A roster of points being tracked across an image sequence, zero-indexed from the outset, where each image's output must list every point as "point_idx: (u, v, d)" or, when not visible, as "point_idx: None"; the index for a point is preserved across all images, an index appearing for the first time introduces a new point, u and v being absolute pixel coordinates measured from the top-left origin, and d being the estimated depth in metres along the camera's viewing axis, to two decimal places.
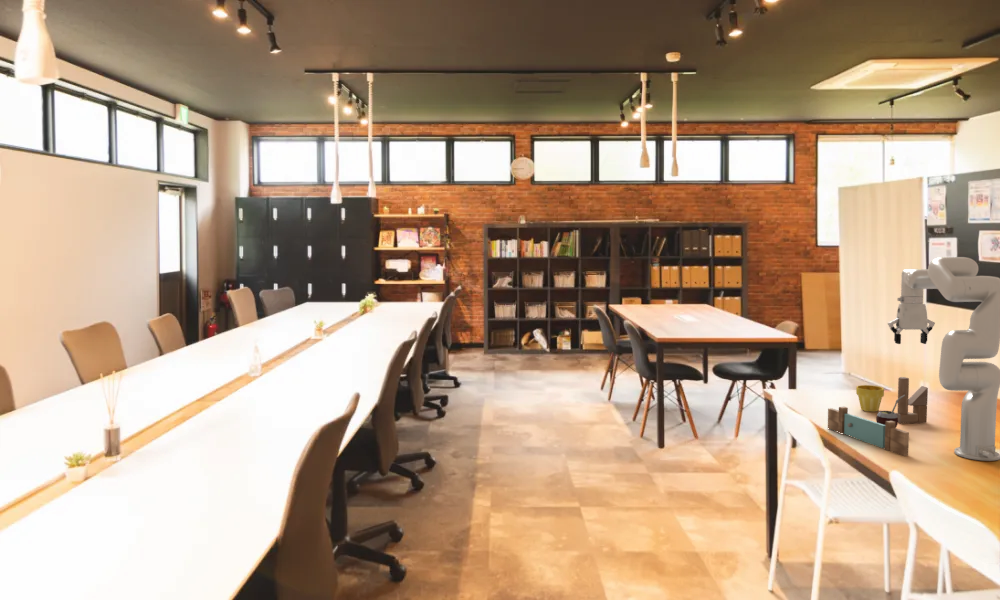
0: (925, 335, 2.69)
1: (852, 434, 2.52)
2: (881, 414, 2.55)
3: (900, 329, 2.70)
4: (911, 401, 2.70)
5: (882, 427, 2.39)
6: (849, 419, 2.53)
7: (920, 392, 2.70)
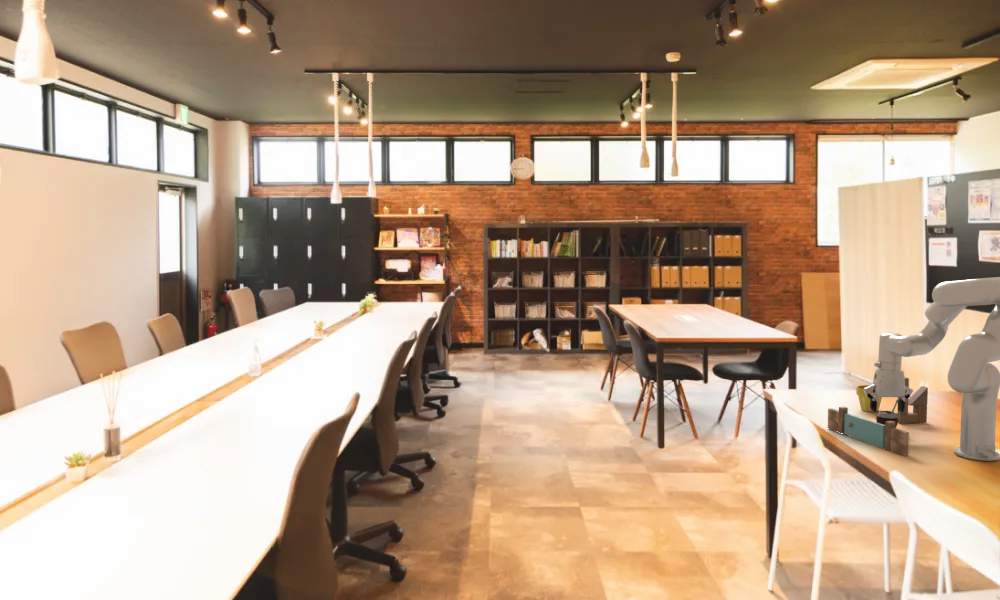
0: (902, 403, 2.55)
1: (852, 434, 2.52)
2: (881, 414, 2.55)
3: (876, 396, 2.55)
4: (911, 401, 2.70)
5: (882, 427, 2.39)
6: (849, 419, 2.53)
7: (920, 392, 2.70)
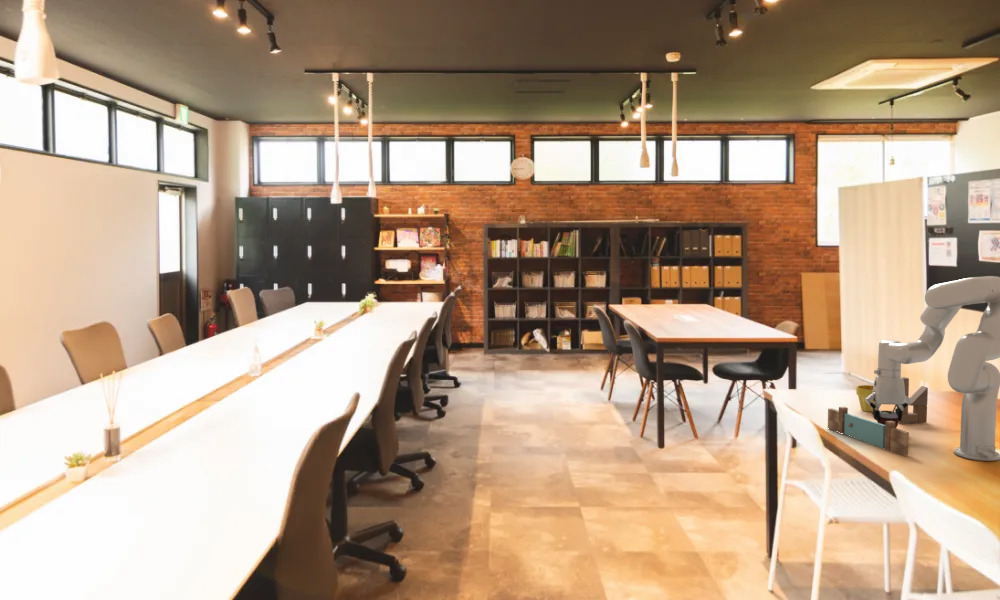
0: (899, 412, 2.55)
1: (852, 434, 2.52)
2: (881, 414, 2.56)
3: (878, 405, 2.55)
4: (911, 401, 2.70)
5: (882, 427, 2.39)
6: (849, 419, 2.53)
7: (920, 392, 2.70)
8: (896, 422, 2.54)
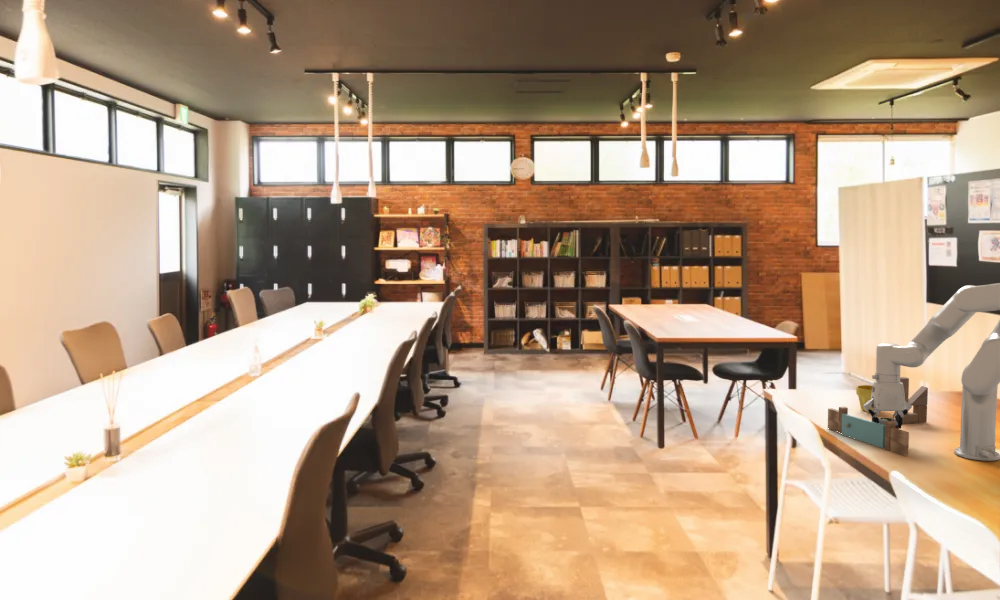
0: (899, 419, 2.42)
1: (850, 434, 2.52)
2: (881, 421, 2.43)
3: (877, 412, 2.43)
4: (911, 401, 2.70)
5: (882, 427, 2.38)
6: (846, 419, 2.53)
7: (920, 392, 2.70)
8: None
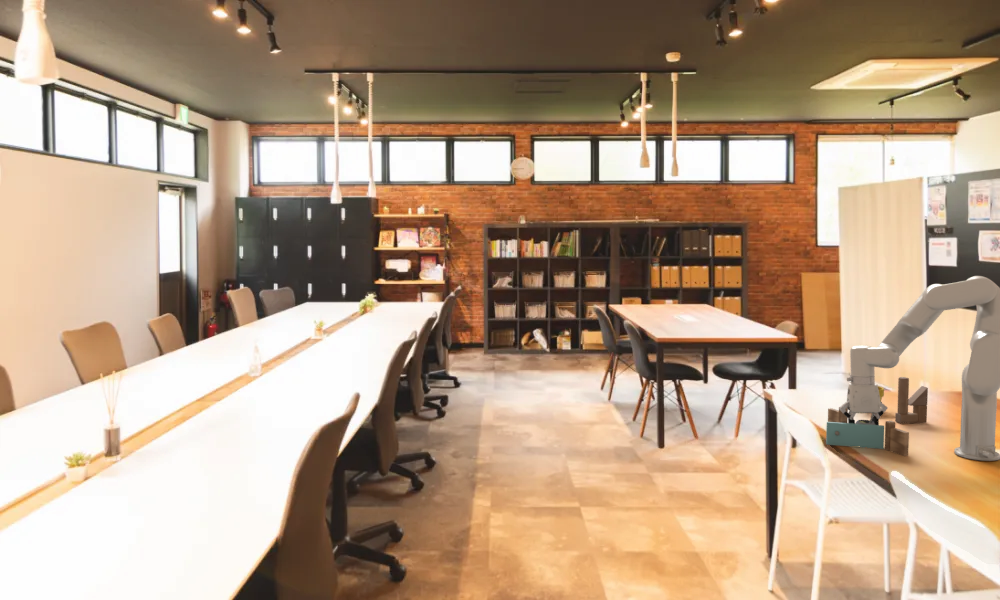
0: (876, 421, 2.43)
1: (839, 442, 2.43)
2: None
3: (853, 414, 2.44)
4: (911, 401, 2.70)
5: (883, 428, 2.37)
6: (834, 427, 2.43)
7: (920, 392, 2.70)
8: None
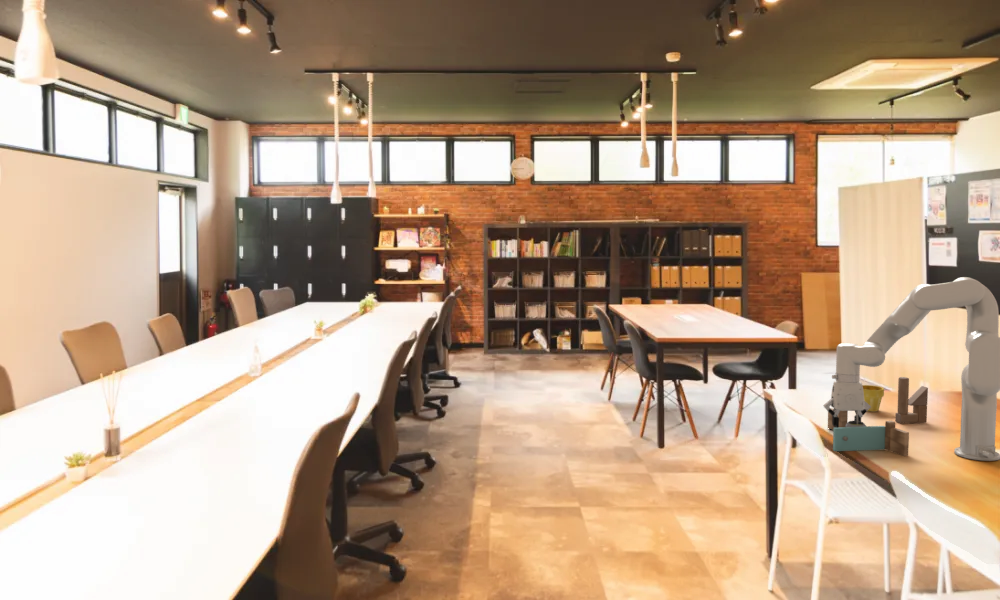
0: (858, 419, 2.44)
1: (846, 447, 2.36)
2: None
3: (837, 411, 2.44)
4: (911, 401, 2.70)
5: (884, 428, 2.37)
6: (841, 432, 2.36)
7: (920, 392, 2.70)
8: None
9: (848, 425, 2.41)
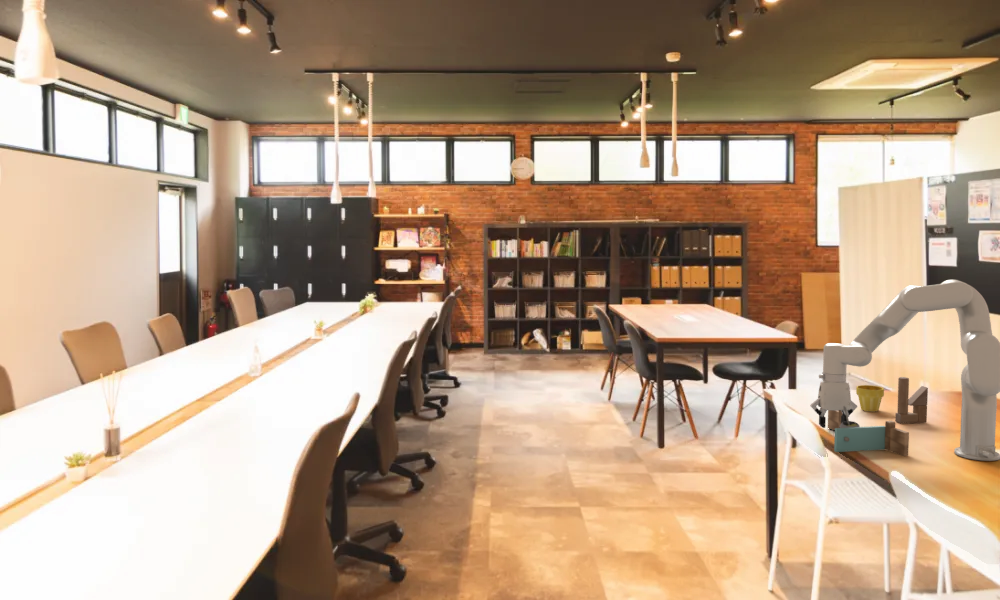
0: (845, 419, 2.44)
1: (847, 447, 2.36)
2: (858, 426, 2.38)
3: (824, 411, 2.44)
4: (911, 401, 2.70)
5: (884, 428, 2.37)
6: (843, 433, 2.35)
7: (920, 392, 2.70)
8: None
9: None
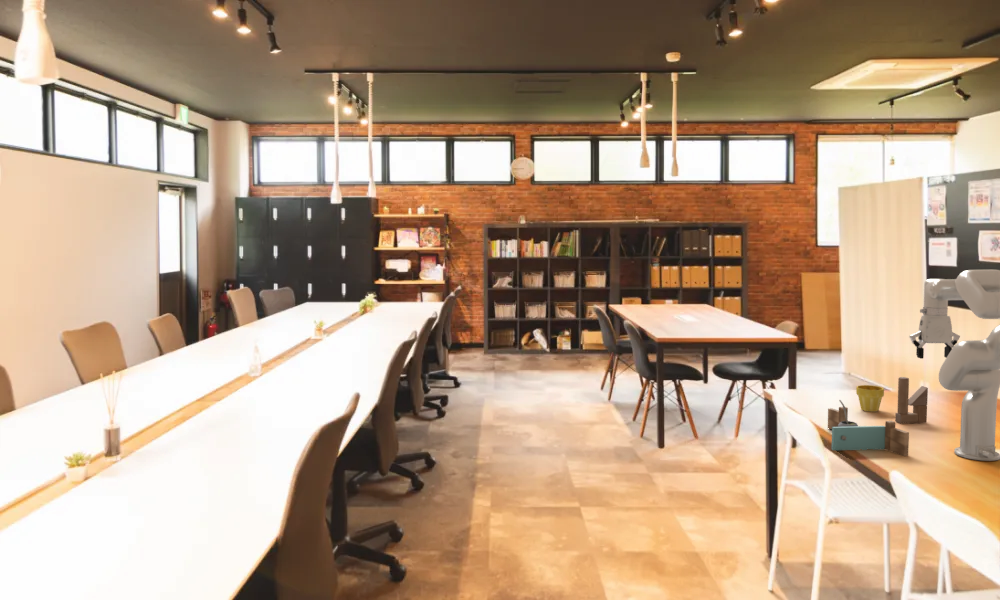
0: (949, 349, 2.52)
1: (844, 446, 2.37)
2: (857, 425, 2.41)
3: (923, 343, 2.53)
4: (911, 401, 2.70)
5: (884, 428, 2.37)
6: (840, 432, 2.37)
7: (920, 392, 2.70)
8: None
9: (845, 425, 2.41)
